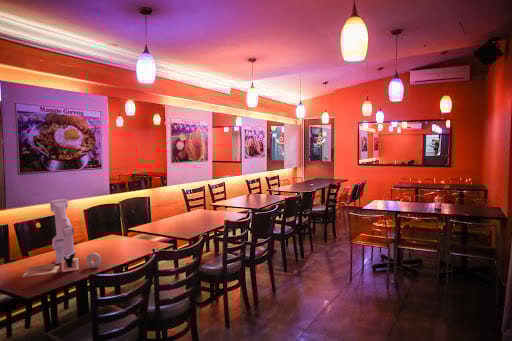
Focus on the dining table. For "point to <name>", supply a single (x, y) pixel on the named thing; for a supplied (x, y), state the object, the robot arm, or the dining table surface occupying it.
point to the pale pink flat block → (74, 267)
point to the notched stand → (40, 270)
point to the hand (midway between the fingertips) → (70, 266)
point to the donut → (97, 258)
